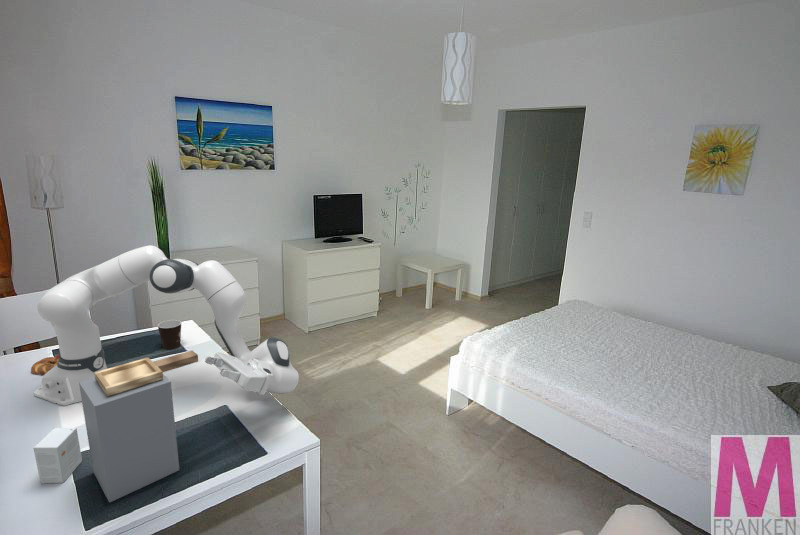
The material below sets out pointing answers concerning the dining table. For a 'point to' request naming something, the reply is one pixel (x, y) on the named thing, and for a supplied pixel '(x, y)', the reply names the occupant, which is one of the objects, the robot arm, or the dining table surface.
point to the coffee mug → (170, 334)
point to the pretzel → (44, 365)
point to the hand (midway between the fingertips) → (213, 365)
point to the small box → (58, 455)
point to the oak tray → (140, 372)
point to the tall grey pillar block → (130, 435)
